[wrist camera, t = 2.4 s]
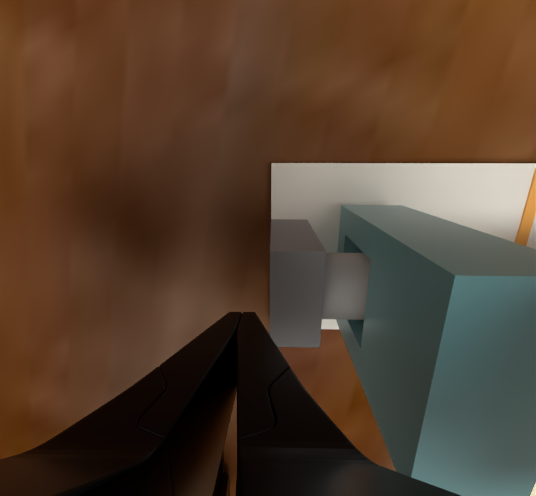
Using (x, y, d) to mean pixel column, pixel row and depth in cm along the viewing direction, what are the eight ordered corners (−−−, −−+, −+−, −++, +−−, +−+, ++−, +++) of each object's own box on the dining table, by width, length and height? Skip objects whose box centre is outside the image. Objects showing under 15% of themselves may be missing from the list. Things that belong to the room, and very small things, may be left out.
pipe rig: (270, 318, 19) (269, 405, 12) (271, 163, 16) (270, 162, 9) (572, 321, 18) (747, 413, 11) (632, 163, 15) (914, 163, 9)
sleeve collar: (332, 311, 15) (406, 497, 7) (341, 205, 14) (455, 275, 5) (386, 312, 15) (528, 499, 7) (401, 205, 14) (619, 277, 5)
